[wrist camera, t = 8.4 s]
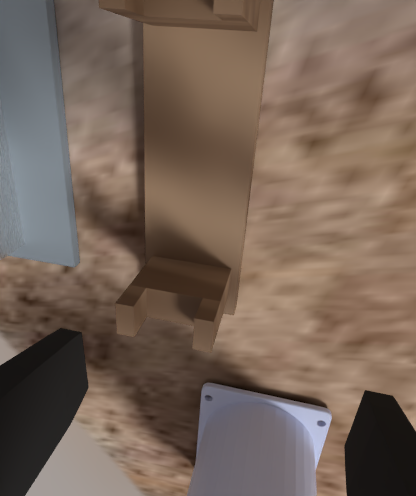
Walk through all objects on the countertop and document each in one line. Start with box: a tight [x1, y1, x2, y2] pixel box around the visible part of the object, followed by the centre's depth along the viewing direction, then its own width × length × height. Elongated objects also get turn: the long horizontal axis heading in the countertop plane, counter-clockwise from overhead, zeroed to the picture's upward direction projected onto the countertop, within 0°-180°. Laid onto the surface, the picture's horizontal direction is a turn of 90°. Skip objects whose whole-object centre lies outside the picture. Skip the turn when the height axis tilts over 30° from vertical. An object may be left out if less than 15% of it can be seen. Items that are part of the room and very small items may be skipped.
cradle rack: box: [99, 0, 274, 353], centre depth 15 cm, size 16×5×6 cm, turn 176°
